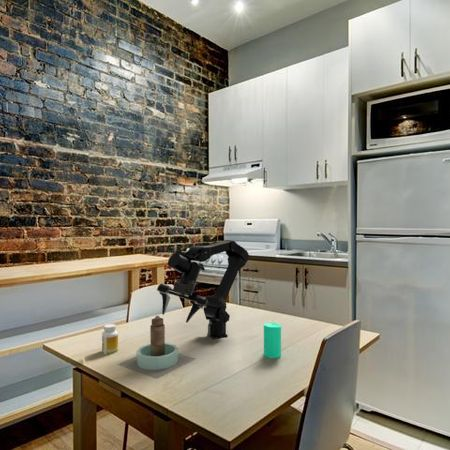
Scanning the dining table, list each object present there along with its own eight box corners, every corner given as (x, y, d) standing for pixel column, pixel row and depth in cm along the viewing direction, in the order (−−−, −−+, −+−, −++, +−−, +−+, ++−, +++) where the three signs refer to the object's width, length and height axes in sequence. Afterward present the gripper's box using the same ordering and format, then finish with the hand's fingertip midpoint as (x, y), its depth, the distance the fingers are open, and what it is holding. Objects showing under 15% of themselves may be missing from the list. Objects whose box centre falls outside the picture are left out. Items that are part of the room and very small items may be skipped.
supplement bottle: (121, 351, 125) (121, 324, 125) (111, 356, 120) (111, 328, 120) (108, 349, 127) (108, 322, 127) (98, 354, 122) (98, 327, 122)
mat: (158, 349, 127) (158, 347, 127) (196, 360, 117) (196, 358, 117) (117, 366, 112) (117, 364, 112) (157, 380, 102) (157, 378, 102)
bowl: (171, 351, 123) (171, 340, 123) (182, 365, 112) (182, 353, 112) (133, 357, 118) (133, 346, 118) (141, 372, 106) (141, 360, 106)
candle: (270, 359, 118) (270, 323, 118) (260, 353, 123) (260, 319, 123) (284, 356, 120) (284, 321, 120) (274, 350, 126) (274, 317, 126)
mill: (165, 356, 117) (165, 313, 117) (163, 361, 112) (163, 317, 112) (152, 356, 117) (151, 313, 117) (149, 361, 112) (149, 317, 112)
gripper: (161, 264, 125) (144, 307, 120) (210, 279, 121) (195, 324, 116) (168, 272, 135) (153, 311, 130) (214, 286, 132) (200, 327, 126)
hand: (174, 318), depth 125 cm, fingers open, 9 cm apart
